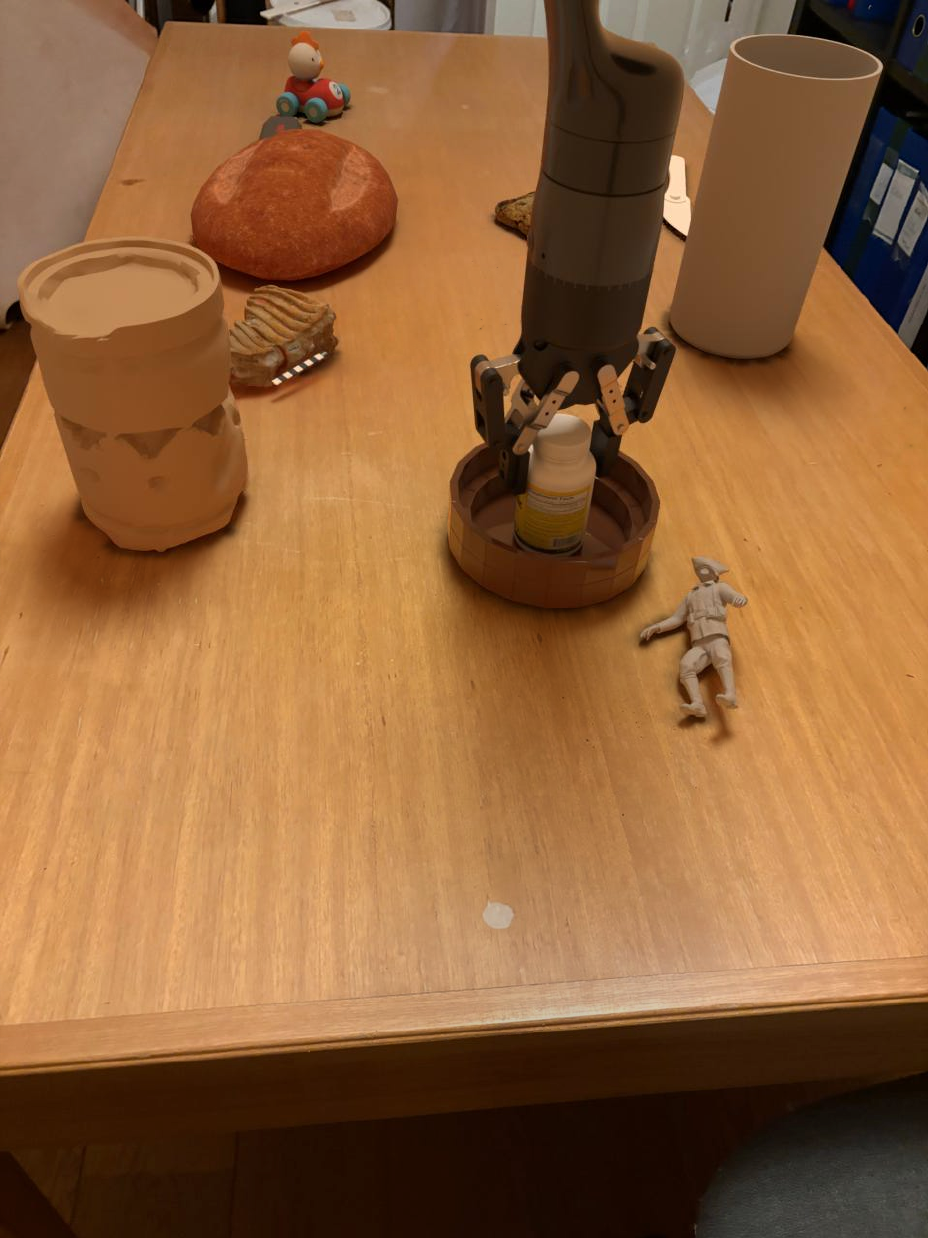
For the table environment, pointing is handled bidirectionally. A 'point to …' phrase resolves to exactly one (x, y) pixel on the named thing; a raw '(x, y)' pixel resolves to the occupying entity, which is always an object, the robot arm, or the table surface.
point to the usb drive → (278, 125)
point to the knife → (677, 197)
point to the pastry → (516, 212)
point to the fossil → (279, 337)
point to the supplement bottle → (557, 489)
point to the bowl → (540, 580)
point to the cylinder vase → (769, 189)
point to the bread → (294, 206)
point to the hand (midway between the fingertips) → (556, 478)
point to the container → (140, 385)
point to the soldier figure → (705, 633)
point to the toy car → (310, 84)
